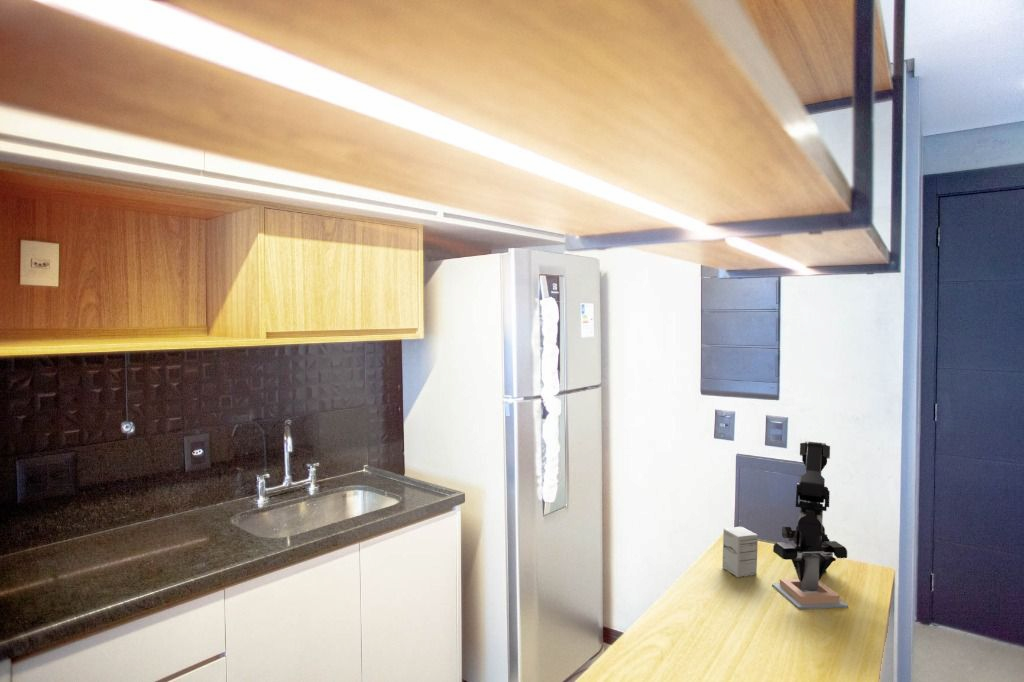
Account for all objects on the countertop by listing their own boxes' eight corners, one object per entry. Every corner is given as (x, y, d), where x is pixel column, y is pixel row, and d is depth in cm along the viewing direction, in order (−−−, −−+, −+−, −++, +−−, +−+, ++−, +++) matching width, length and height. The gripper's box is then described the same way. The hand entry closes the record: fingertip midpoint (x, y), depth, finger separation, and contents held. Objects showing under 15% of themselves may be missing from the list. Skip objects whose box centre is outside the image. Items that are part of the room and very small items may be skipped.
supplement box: (721, 568, 186) (722, 528, 186) (741, 565, 189) (742, 525, 188) (737, 578, 179) (738, 536, 179) (757, 575, 182) (758, 534, 181)
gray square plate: (817, 584, 176) (817, 575, 176) (848, 607, 162) (848, 598, 162) (771, 585, 175) (772, 576, 174) (798, 609, 161) (798, 599, 160)
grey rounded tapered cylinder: (812, 583, 171) (813, 552, 170) (822, 590, 166) (823, 559, 165) (796, 583, 170) (797, 552, 170) (805, 591, 165) (806, 559, 165)
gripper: (825, 515, 176) (823, 567, 177) (764, 516, 175) (762, 568, 175) (849, 528, 165) (847, 584, 166) (784, 530, 163) (783, 586, 164)
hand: (809, 580), depth 168 cm, fingers closed on grey rounded tapered cylinder, 5 cm apart
